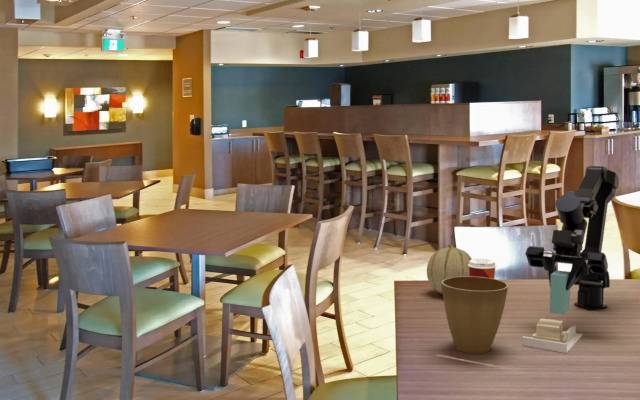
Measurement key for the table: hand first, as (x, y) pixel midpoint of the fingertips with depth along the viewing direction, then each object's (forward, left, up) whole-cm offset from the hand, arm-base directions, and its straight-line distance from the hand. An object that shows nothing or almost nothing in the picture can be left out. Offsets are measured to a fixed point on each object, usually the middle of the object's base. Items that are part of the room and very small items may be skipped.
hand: (558, 288), depth 168 cm
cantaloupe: (0, -46, -13) cm, 48 cm away
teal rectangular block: (-1, -1, -6) cm, 6 cm away
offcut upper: (+6, +4, -9) cm, 12 cm away
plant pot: (+24, -1, -13) cm, 27 cm away
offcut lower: (+6, +4, -12) cm, 14 cm away
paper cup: (+2, -28, -13) cm, 31 cm away
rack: (+3, +2, -12) cm, 13 cm away
